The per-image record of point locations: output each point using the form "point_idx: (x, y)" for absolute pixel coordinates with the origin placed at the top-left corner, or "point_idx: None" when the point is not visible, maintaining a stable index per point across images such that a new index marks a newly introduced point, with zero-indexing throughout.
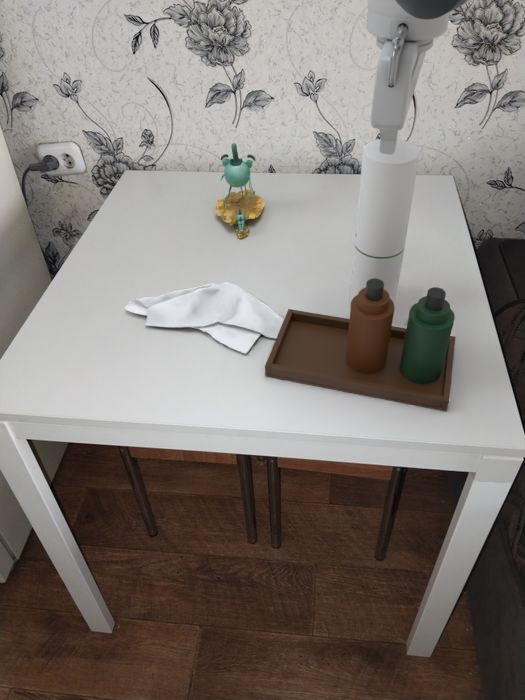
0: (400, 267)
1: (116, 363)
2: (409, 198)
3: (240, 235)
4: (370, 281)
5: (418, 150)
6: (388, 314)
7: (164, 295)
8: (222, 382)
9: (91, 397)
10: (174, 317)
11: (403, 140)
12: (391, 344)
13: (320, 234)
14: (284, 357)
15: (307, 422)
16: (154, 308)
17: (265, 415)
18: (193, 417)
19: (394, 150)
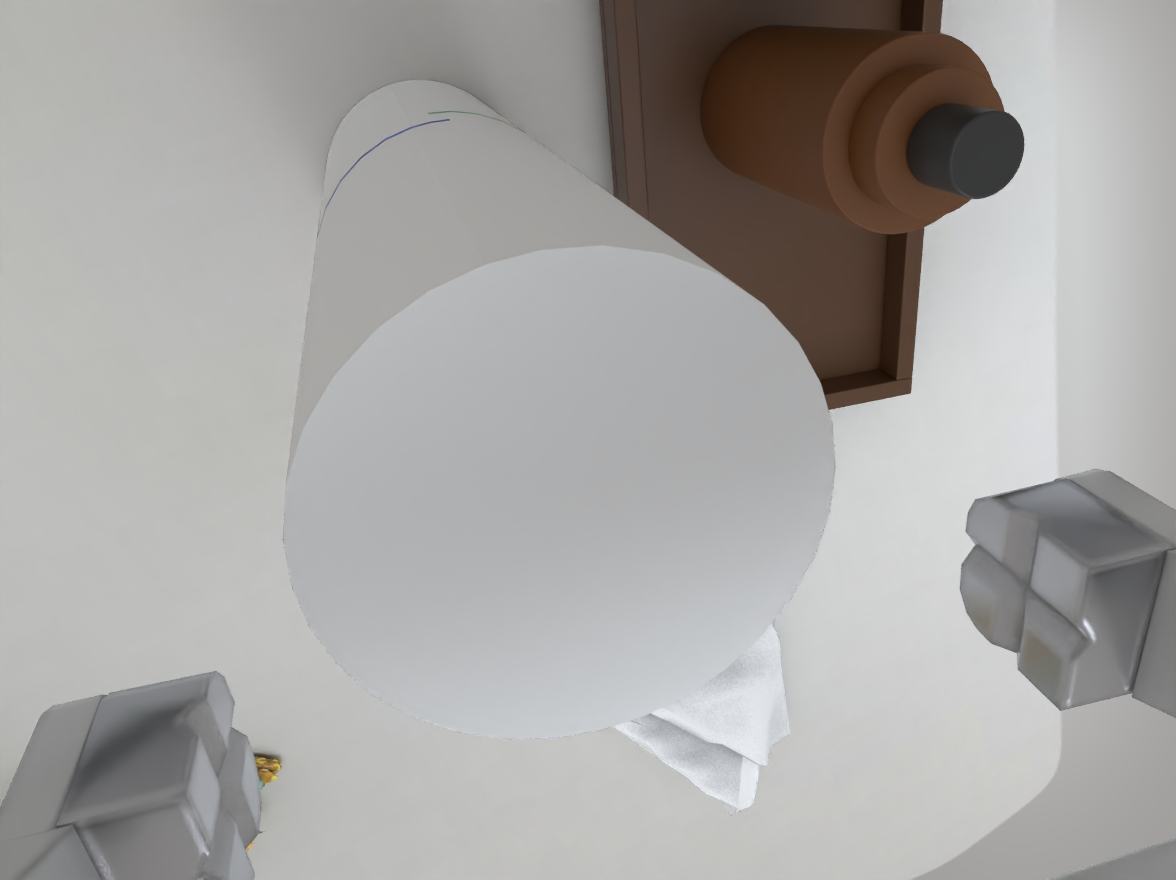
0: (453, 101)
1: (911, 702)
2: (563, 174)
3: (269, 772)
4: (975, 183)
5: (471, 278)
6: (959, 49)
7: (691, 766)
8: (927, 465)
9: (1013, 679)
10: (771, 695)
11: (287, 498)
12: (665, 30)
13: (64, 546)
14: (821, 360)
15: (1028, 194)
16: (764, 753)
17: (1018, 312)
18: (1043, 466)
19: (1121, 478)
